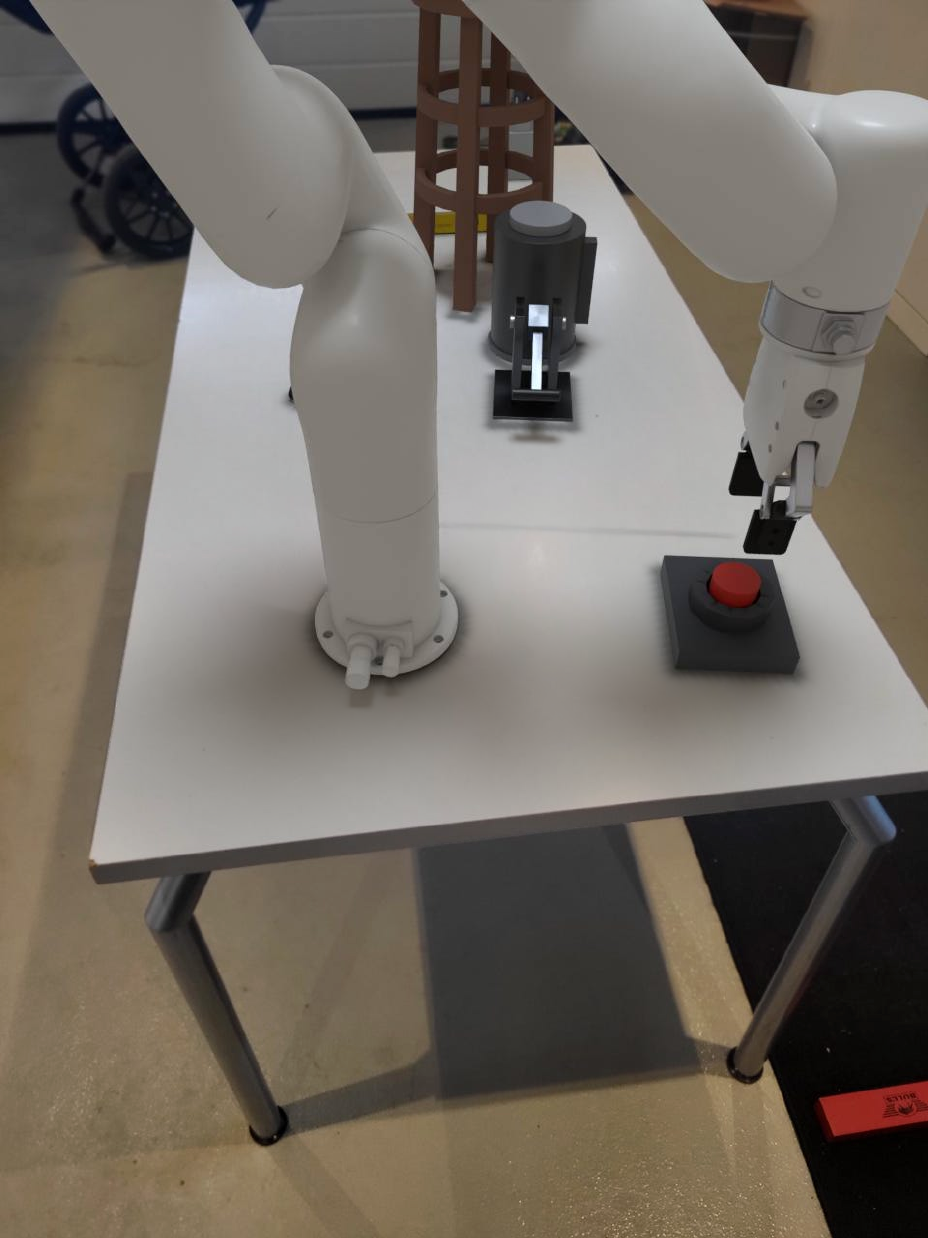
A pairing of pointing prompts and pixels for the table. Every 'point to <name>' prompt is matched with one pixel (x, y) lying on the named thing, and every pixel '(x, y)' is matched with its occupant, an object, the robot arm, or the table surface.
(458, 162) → the stool
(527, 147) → the power adapter
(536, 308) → the kettle switch
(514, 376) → the switch bracket
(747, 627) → the power block
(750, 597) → the power button
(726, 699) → the table surface
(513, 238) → the kettle
